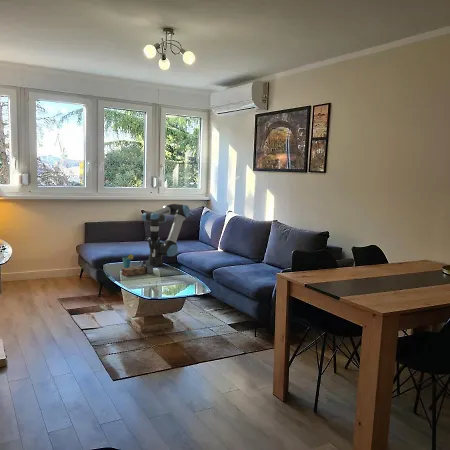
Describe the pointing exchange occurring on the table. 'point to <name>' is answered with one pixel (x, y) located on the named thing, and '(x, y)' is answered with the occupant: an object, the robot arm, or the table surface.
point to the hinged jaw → (133, 271)
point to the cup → (126, 260)
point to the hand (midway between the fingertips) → (153, 256)
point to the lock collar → (148, 267)
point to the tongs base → (132, 268)
